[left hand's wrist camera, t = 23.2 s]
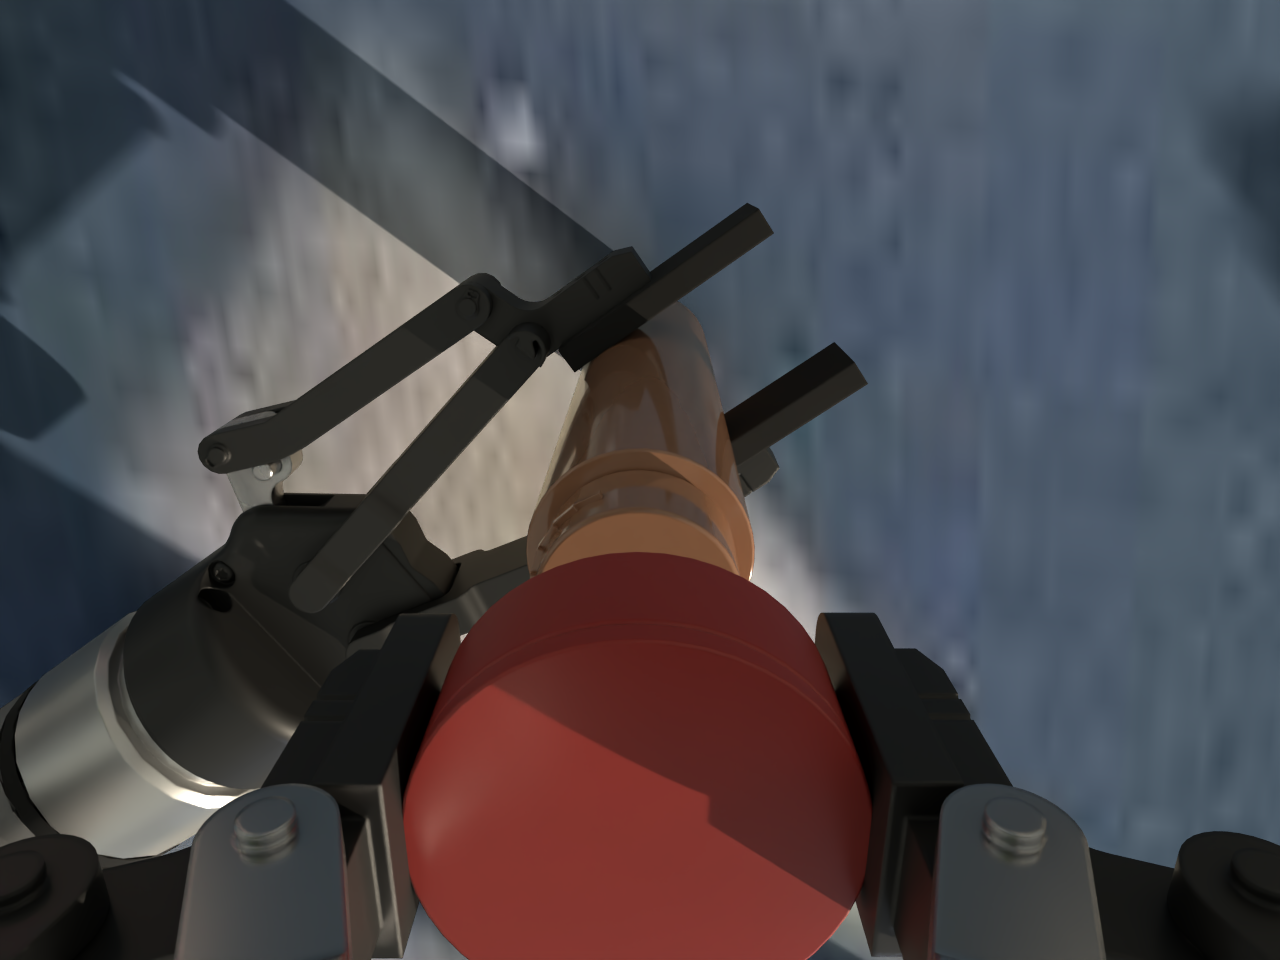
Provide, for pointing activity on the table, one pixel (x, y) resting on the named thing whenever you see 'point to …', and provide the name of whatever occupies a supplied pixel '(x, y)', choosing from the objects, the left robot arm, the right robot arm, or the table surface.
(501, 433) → the table surface
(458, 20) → the table surface
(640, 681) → the lid
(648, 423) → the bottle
